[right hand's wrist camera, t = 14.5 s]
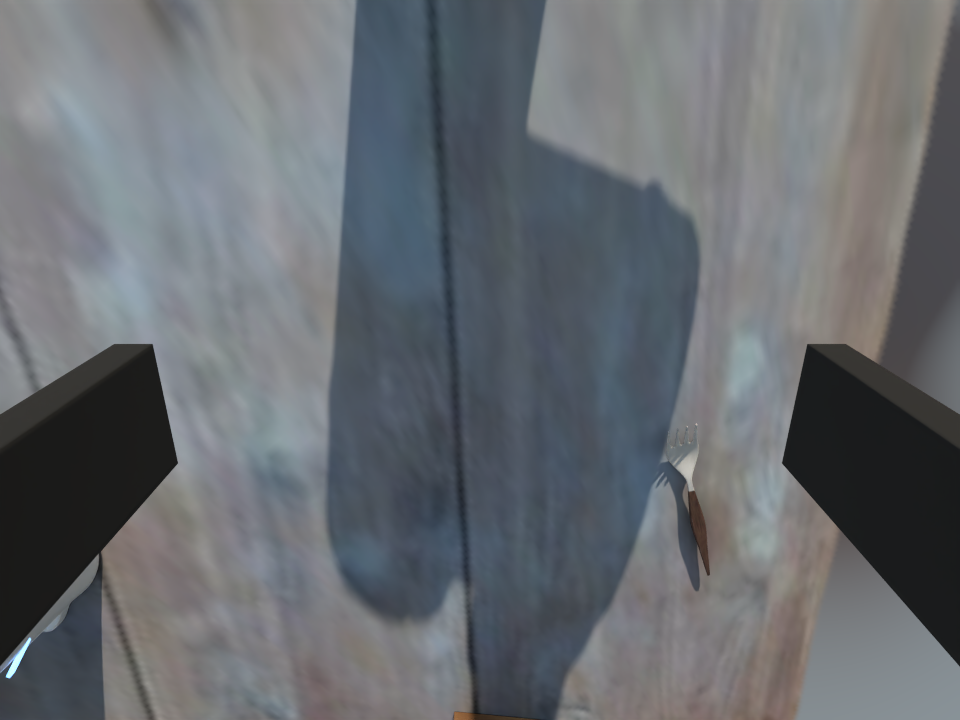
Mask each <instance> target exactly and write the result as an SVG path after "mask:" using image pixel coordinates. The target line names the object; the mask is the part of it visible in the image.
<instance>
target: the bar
mask: <svg viewBox="0 0 960 720" xmlns="http://www.w3.org/2000/svg"><path fill="white" fill-rule="evenodd" d="M453 720H538V719H527V718H517V717H506V716H495V715H485V714H474V713H463V712H454V717H453Z"/></svg>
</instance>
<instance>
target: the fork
mask: <svg viewBox="0 0 960 720" xmlns="http://www.w3.org/2000/svg"><path fill="white" fill-rule="evenodd" d="M669 433H670V432H669V431H668V435H667V444H666V456H667V459H668V460H669V462H670V463H671V464H672V465H673V467H675V468H676V469H677V470H678V471H679V472H680V473H681V474H682V475H683V476H684V478H685V479H686V481H687V485H688V499H689V514H690V522H691V527H692V530H693V533H694V536H695V539H696V542H697V544H698V547H699V550H700V553H701V556H702V560H703V563H704V566H705V569H706V572H707V575H710V570H709V559H708V548H707V533H706V525H705V521H704V517H703V514H702V511H701V508H700V505H699V502H698V499H697V496H696V493H695V491H694V487H693V484H692V474H693V470H694V467H695V464H696V461H697V457H698V453H699V445H698V437H697V424H696V425H695V430H694V435H693V441H692V442H689V439H688V427H686V431H685V438H684V443H683V444H682V445H681V444H680V441H679V430H678V429H677V433H676V441H675V446H674V447H671V442H670V434H669Z"/></svg>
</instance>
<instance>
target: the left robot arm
mask: <svg viewBox="0 0 960 720" xmlns="http://www.w3.org/2000/svg"><path fill="white" fill-rule="evenodd" d="M98 565H99V554H98V555H97V556H96V557H95V559H94V560H93V561H92V562H91V563H90V564H89V565H88V567H87V568H86V569H85V570H84V571H83V572H82V573H81V575H80V576H79V577H78V578H77V579H76V580H75V581H74V583H73V584H72V585H71V586H70V587H69V588H68V589H67V591H66V592H65V593H64V594H63V595H62V596H61V597H60V599H59V600H58V601H57V602H56V603H55V604H54V605H53V607H52V608H51V609H50V610H49V611H48V612H47V613H46V615H45V616H44V617H43V618H42V619H41V620H40V621H39V623H38V624H37V625H36V626H35V627H34V628H33V629H32V631H31V632H30V633H29V634H28V635H27V636H26V637H25V639H24V640H23V641H22V642H21V643H20V644H19V645H18V647H17V648H16V649H15V650H14V651H13V652H12V653H11V655H10V656H9V657H8V658H7V659H6V660H5V661H4V663H3V664H2V665H1V666H0V673H1V672H2V671H3V670H4V669H5V668H6V667H7V666H8V665H9V664H10V663H11V662H12V661H13V660H14V659H15V660H14V662H13V664H12V666H11V668H10V670H9V672H8V674H7V676H6V677H8V678H10V677H11V676H12V675H13V674H14V672H15V671H16V669H17V667H18V665H19V663H20V661H21V659H22V657H23V655H24V653H25V651H26V649H27V647H28V646H29V645H30V644H31V643H32V642H33V641H34V640H35V639H36V638H37V637H38V636H39V635H40V634H41V633H42V632H50V631H53V630H54V629H55V628H56V627H57V626H58V625H59V624H60V623H62V621H63V620H64V619H65V617H66V614H67V612H68V609H69V605H70V603H71V602H72V601H73V600H74V599H76V598H77V597H78V596H79V595H80V594H81V593H83V592H84V591H85V590H86V589H87V588H88V587H89V586H90V584H91V583H92V581H93V580H94V578H95V576H96V573H97V570H98Z"/></svg>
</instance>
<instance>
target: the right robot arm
mask: <svg viewBox="0 0 960 720" xmlns="http://www.w3.org/2000/svg"><path fill="white" fill-rule="evenodd" d="M177 464H178V461H177V457H176V452H175V447H174V442H173V438H172V433H171V428H170V424H169V419H168V414H167V410H166V405H165V400H164V396H163V391H162V386H161V382H160V377H159V372H158V367H157V363H156V358H155V353H154V349H153V344H114V345H112V346H110V347H109V348H107V349H106V350H104V351H102V352H101V353H99V354H98V355H96V356H94V357H93V358H91V359H89V360H88V361H86V362H85V363H83V364H81V365H80V366H78V367H77V368H75V369H73V370H72V371H70V372H68V373H67V374H65V375H64V376H62V377H60V378H59V379H57V380H55V381H54V382H52V383H51V384H49V385H47V386H46V387H44V388H43V389H41V390H39V391H38V392H36V393H34V394H33V395H31V396H30V397H28V398H26V399H25V400H23V401H22V402H20V403H18V404H17V405H15V406H13V407H12V408H10V409H9V410H7V411H5V412H4V413H2V414H0V666H1V665H2V664H3V663H4V661H5V660H6V659H7V658H8V657H9V656H10V655H11V653H12V652H13V651H14V650H15V649H16V648H17V647H18V645H19V644H20V643H21V642H22V641H23V640H24V639H25V637H26V636H27V635H28V634H29V633H30V632H31V631H32V629H33V628H34V627H35V626H36V625H37V624H38V623H39V621H40V620H41V619H42V618H43V617H44V616H45V615H46V613H47V612H48V611H49V610H50V609H51V608H52V607H53V605H54V604H55V603H56V602H57V601H58V600H59V599H60V597H61V596H62V595H63V594H64V593H65V592H66V591H67V589H68V588H69V587H70V586H71V585H72V584H73V583H74V581H75V580H76V579H77V578H78V577H79V576H80V575H81V573H82V572H83V571H84V570H85V569H86V568H87V567H88V565H89V564H90V563H91V562H92V561H93V560H94V559H95V557H96V556H97V555H98V554H99V553H100V552H101V551H102V549H103V548H104V547H105V546H106V545H107V544H108V543H109V541H110V540H111V539H112V538H113V537H114V536H115V535H116V533H117V532H118V531H119V530H120V529H121V528H122V527H123V525H124V524H125V523H126V522H127V521H128V520H129V519H130V517H131V516H132V515H133V514H134V513H135V512H136V511H137V509H138V508H139V507H140V506H141V505H142V504H143V503H144V501H145V500H146V499H147V498H148V497H149V496H150V495H151V493H152V492H153V491H154V490H155V489H156V488H157V487H158V485H159V484H160V483H161V482H162V481H163V480H164V479H165V477H166V476H167V475H168V474H169V473H170V472H171V471H172V469H173V468H174V467H175V466H176V465H177ZM782 464H783V465H784V466H785V467H786V468H787V469H788V471H789V472H790V473H791V474H792V475H793V476H794V477H795V479H796V480H797V481H798V482H799V483H800V484H801V485H802V487H803V488H804V489H805V490H806V491H807V492H808V493H809V495H810V496H811V497H812V498H813V499H814V500H815V501H816V503H817V504H818V505H819V506H820V507H821V508H822V509H823V511H824V512H825V513H826V514H827V515H828V516H829V517H830V519H831V520H832V521H833V522H834V523H835V524H836V525H837V527H838V528H839V529H840V530H841V531H842V532H843V533H844V535H845V536H846V537H847V538H848V539H849V540H850V541H851V543H852V544H853V545H854V546H855V547H856V548H857V549H858V551H859V552H860V553H861V554H862V555H863V556H864V557H865V558H866V560H867V561H868V562H869V563H870V564H871V565H872V566H873V568H874V569H875V570H876V571H877V572H878V573H879V575H880V576H881V577H882V578H883V579H884V580H885V581H886V583H887V584H888V585H889V586H890V587H891V588H892V589H893V591H894V592H895V593H896V594H897V595H898V596H899V597H900V599H901V600H902V601H903V602H904V603H905V604H906V605H907V607H908V608H909V609H910V610H911V611H912V612H913V613H914V615H915V616H916V617H917V618H918V619H919V620H920V621H921V623H922V624H923V625H924V626H925V627H926V628H927V629H928V631H929V632H930V633H931V634H932V635H933V636H934V637H935V639H936V640H937V641H938V642H939V643H940V644H941V645H942V647H943V648H944V649H945V650H946V651H947V652H948V653H949V655H950V656H951V657H952V658H953V659H954V660H955V661H956V663H957V664H958V665H959V666H960V414H958V413H956V412H955V411H953V410H951V409H950V408H948V407H947V406H945V405H943V404H942V403H940V402H938V401H937V400H935V399H934V398H932V397H930V396H929V395H927V394H926V393H924V392H922V391H921V390H919V389H917V388H916V387H914V386H912V385H911V384H909V383H908V382H906V381H905V380H903V379H901V378H900V377H898V376H896V375H895V374H893V373H892V372H890V371H888V370H887V369H885V368H883V367H882V366H880V365H879V364H877V363H875V362H874V361H872V360H871V359H869V358H867V357H866V356H864V355H862V354H861V353H859V352H858V351H856V350H854V349H853V348H851V347H850V346H848V345H846V344H807V349H806V353H805V358H804V363H803V367H802V372H801V377H800V382H799V386H798V391H797V396H796V400H795V405H794V410H793V414H792V419H791V424H790V428H789V433H788V438H787V442H786V447H785V452H784V457H783V461H782Z"/></svg>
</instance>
